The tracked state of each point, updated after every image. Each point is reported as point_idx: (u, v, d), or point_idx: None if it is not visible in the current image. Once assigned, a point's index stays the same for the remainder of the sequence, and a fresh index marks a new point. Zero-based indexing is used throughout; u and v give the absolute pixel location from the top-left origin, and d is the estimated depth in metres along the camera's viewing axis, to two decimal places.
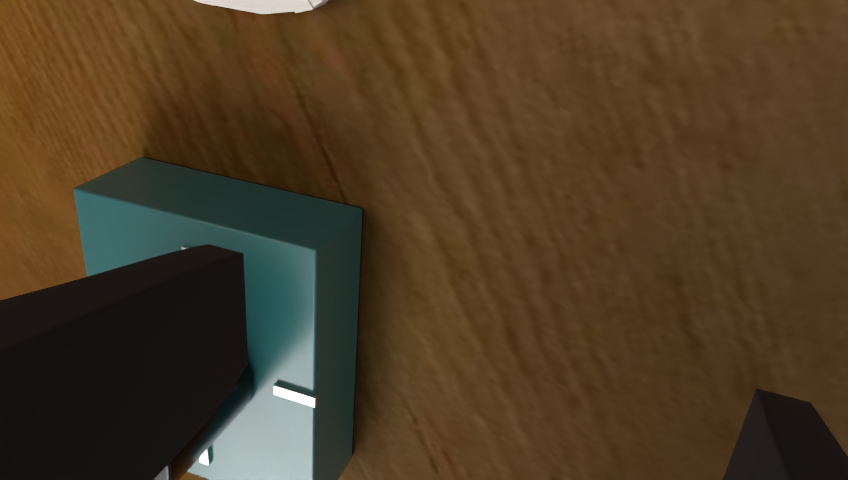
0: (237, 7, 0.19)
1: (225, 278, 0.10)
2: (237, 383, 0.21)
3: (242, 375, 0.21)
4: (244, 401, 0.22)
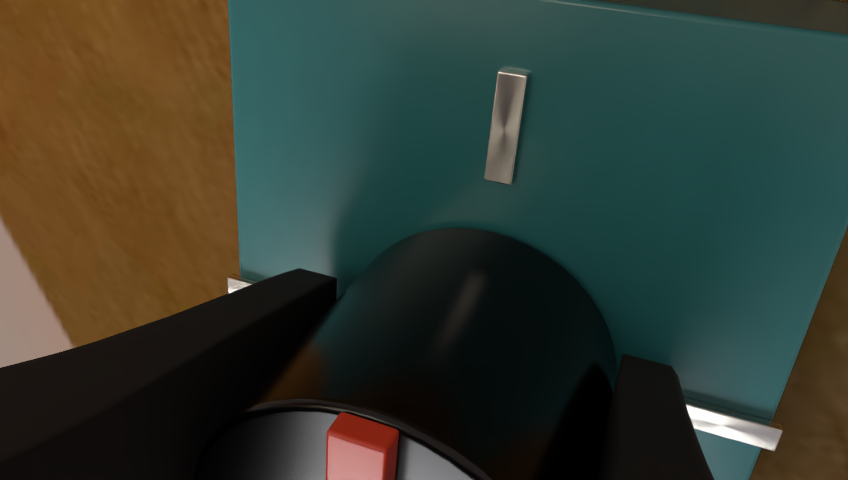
0: None
1: (321, 304, 0.10)
2: (610, 399, 0.09)
3: (613, 378, 0.09)
4: None
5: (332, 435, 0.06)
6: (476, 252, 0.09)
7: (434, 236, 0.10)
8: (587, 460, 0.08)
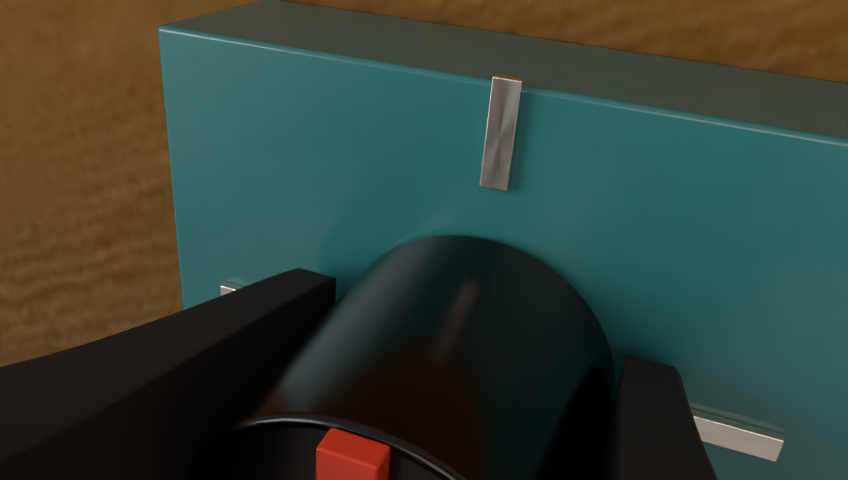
0: None
1: (320, 304, 0.10)
2: (608, 409, 0.09)
3: (611, 388, 0.09)
4: None
5: (322, 452, 0.06)
6: (470, 259, 0.09)
7: (429, 244, 0.09)
8: (584, 474, 0.07)
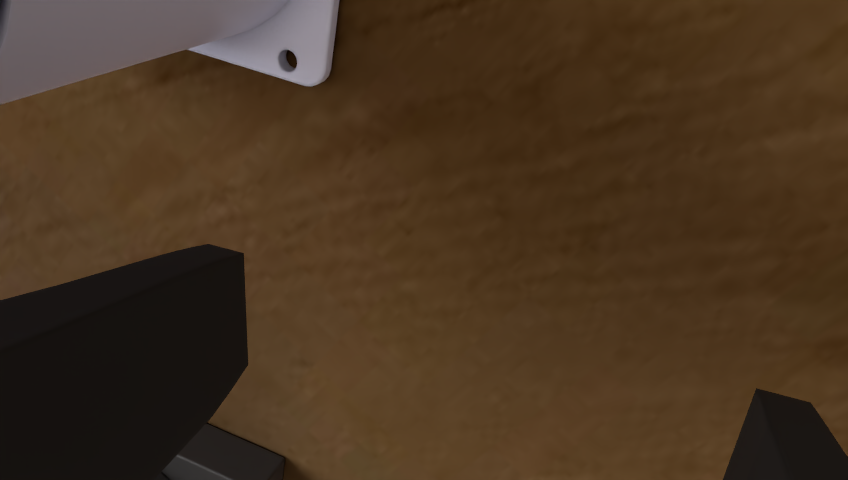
0: None
1: (225, 278, 0.10)
2: None
3: None
4: None
5: None
6: None
7: None
8: None
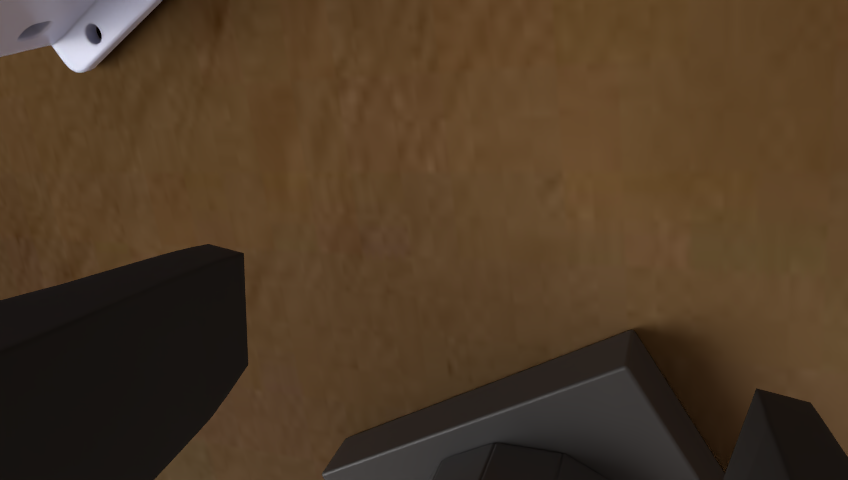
0: None
1: (225, 278, 0.10)
2: None
3: None
4: None
5: None
6: None
7: None
8: None
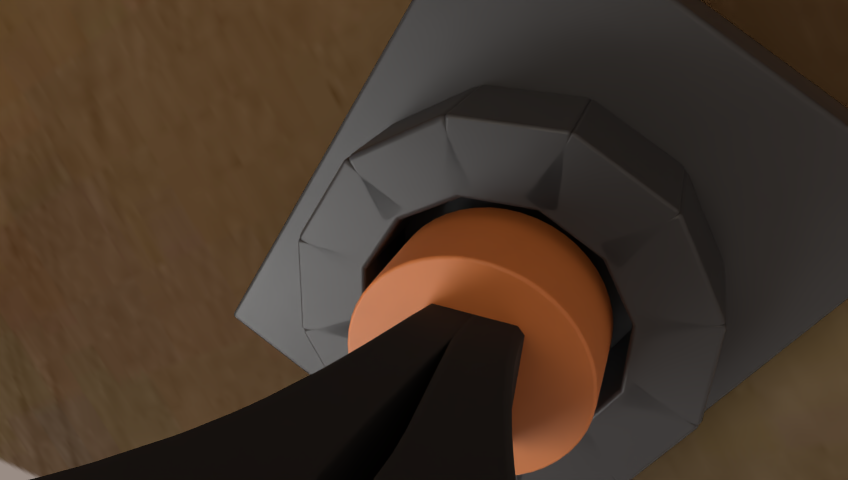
0: None
1: None
2: None
3: None
4: None
5: None
6: None
7: None
8: None
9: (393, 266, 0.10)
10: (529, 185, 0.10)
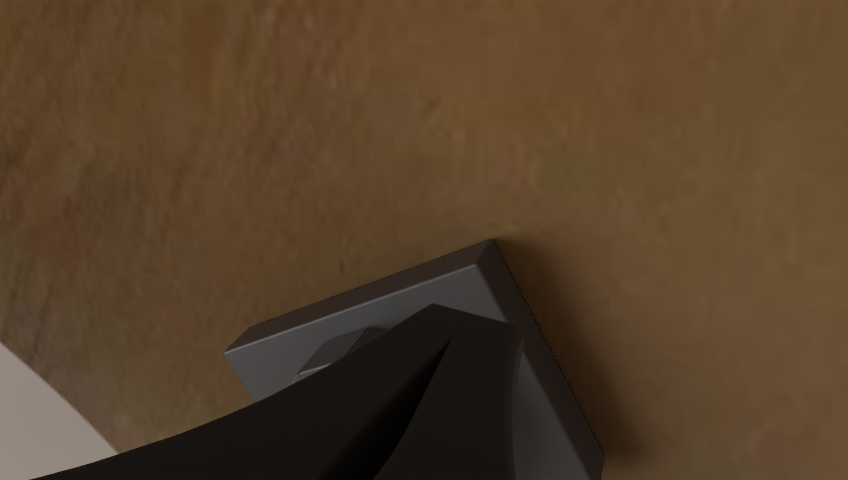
0: None
1: None
2: None
3: None
4: None
5: None
6: None
7: None
8: None
9: None
10: None
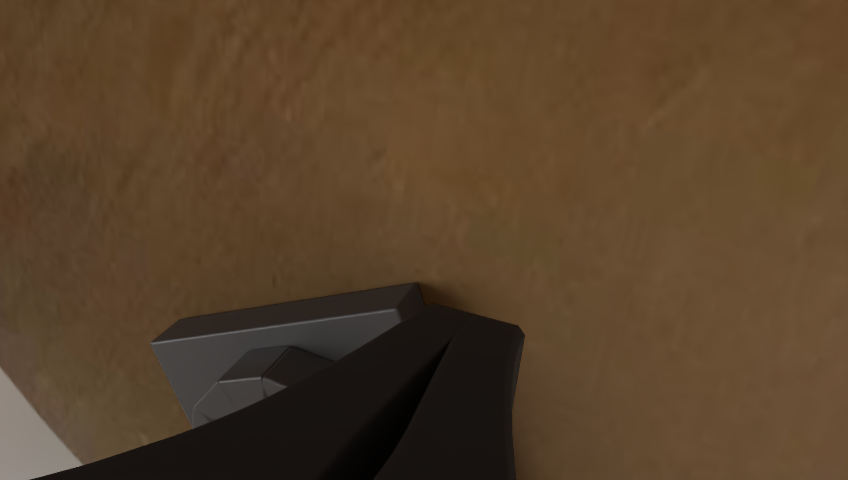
0: None
1: None
2: None
3: None
4: None
5: None
6: None
7: None
8: None
9: None
10: None
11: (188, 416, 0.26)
